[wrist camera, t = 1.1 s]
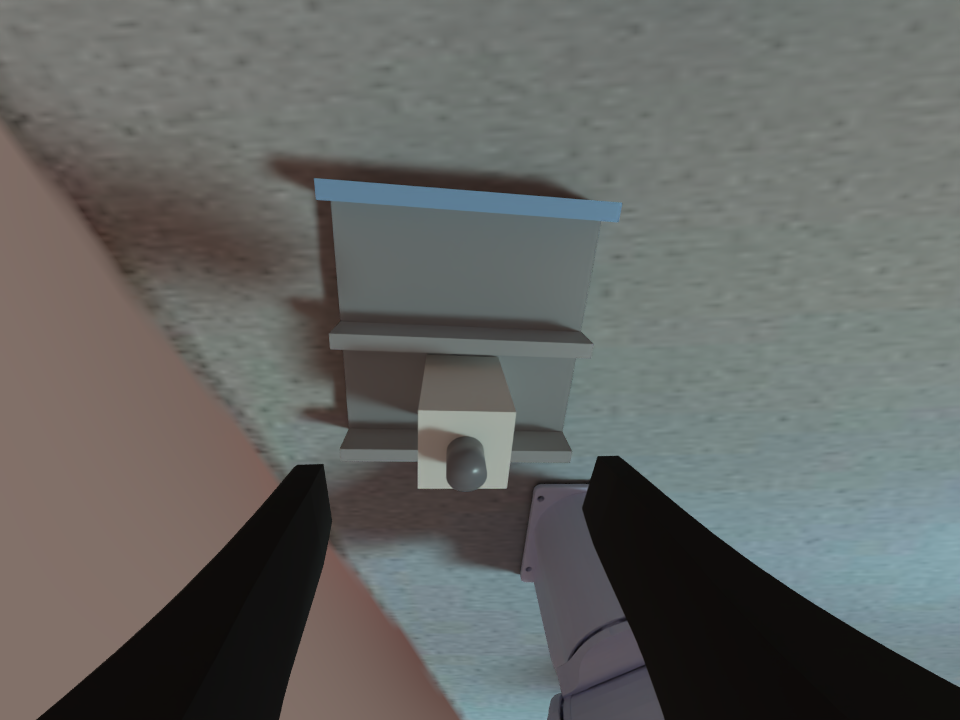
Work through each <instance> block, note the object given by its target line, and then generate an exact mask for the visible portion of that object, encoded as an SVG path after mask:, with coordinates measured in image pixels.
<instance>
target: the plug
mask: <svg viewBox="0 0 960 720" xmlns="http://www.w3.org/2000/svg"><path fill="white" fill-rule="evenodd" d="M515 419H516V410H515V407H514V404H513V401H512V398H511V394H510V391H509V388H508V385H507V382H506V379H505V376H504V373H503V370H502V367H501V364H500V361H499V358H498V357H482V356H454V355H427V356H426V363H425V369H424V376H423V382H422V388H421V395H420V401H419V408H418V489H455V490H458V491H462V492H469V491H474V490H476V489H507V483H508V475H509V467H510V459H511V451H512V443H513V435H514V427H515Z"/></svg>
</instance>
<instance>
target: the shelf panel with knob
mask: <svg viewBox="0 0 960 720" xmlns="http://www.w3.org/2000/svg"><path fill="white" fill-rule="evenodd" d="M314 184H315V194H316V200H326V201H331V211H332V223H333V236H334V248H335V260H336V273H337V285H338V298H339V310H340V322H339V323H338V324H337V325H336V326H335V328H334V329H333V330H332V331H331V332H330V333H329V342H330V349H334V350H343V360H344V372H345V384H346V397H347V409H348V422H349V430H348V432H347V434H346V436H345V439H344V441H343V443H342V445H341V447H340V458H341V461H379V462H418V408H419V401H420V395H421V388H422V382H423V376H424V369H425V363H426V356H427V355H454V356H482V357H498V358H499V361H500V364H501V367H502V370H503V373H504V376H505V379H506V382H507V385H508V388H509V391H510V394H511V398H512V401H513V404H514V407H515V410H516V419H515V427H514V435H513V443H512V451H511V459H510V462H524V463H570V461H571V456H572V450H571V448H570V446H569V444H568V442H567V440H566V438H565V436H564V434H563V432H562V431H563V426H564V421H565V415H566V410H567V404H568V399H569V393H570V388H571V383H572V377H573V372H574V366H575V361H576V358H585V359H591V356H592V351H593V346H594V344H593V343H592V342H591V341H590V340H589V339H588V338H587V337H586V336H585V335H584V334H583V333H582V332H581V328H582V323H583V317H584V312H585V307H586V301H587V296H588V290H589V285H590V279H591V274H592V269H593V263H594V258H595V252H596V247H597V241H598V236H599V231H600V225H601V221H609V222H619V217H620V212H621V207H622V203H619V202H607V201H594V200H582V199H569V198H557V197H544V196H532V195H519V194H507V193H494V192H482V191H469V190H457V189H444V188H432V187H419V186H407V185H394V184H382V183H369V182H357V181H344V180H332V179H319V178H314Z"/></svg>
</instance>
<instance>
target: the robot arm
mask: <svg viewBox="0 0 960 720" xmlns="http://www.w3.org/2000/svg"><path fill="white" fill-rule="evenodd" d="M539 496H542V497H540V498H538V497H539ZM331 524H332V518H331V511H330V504H329V498H328V491H327V484H326V478H325V471H324V464H310V465H297V466H295V467H294V468H293V469H292V470H291V471H290V473H289V474H288V475H287V476H286V477H285V479H284V480H283V481H282V482H281V483H280V485H279V486H278V487H277V488H276V489H275V490H274V492H273V493H272V494H271V495H270V496H269V498H268V499H267V500H266V501H265V502H264V503H263V505H262V506H261V507H260V508H259V509H258V510H257V511H256V513H255V514H254V515H253V516H252V517H251V518H250V519H249V520H248V521H247V522H246V524H245V525H244V526H243V527H242V528H241V529H240V530H239V531H238V532H237V534H236V535H235V536H234V537H233V538H232V539H231V540H230V541H229V542H228V544H227V545H225V547H224V548H223V549H222V550H221V551H220V552H219V553H218V554H217V555H216V556H215V557H214V558H213V559H212V560H211V561H210V562H209V563H208V564H207V565H206V566H205V567H204V568H203V569H202V570H201V571H200V572H199V573H198V574H197V575H196V576H195V577H194V578H193V579H192V580H191V581H190V582H189V583H188V584H187V586H186V587H185V588H184V589H183V590H182V591H180V592H179V593H178V594H177V596H175V597H174V598H173V599H172V600H171V601H170V602H169V603H168V604H167V605H166V606H165V607H164V608H163V609H162V610H161V611H160V612H159V613H158V614H157V615H155V617H153V618H152V619H151V620H150V621H149V622H148V623H147V624H146V625H145V626H144V627H143V628H141V630H139V631H138V632H137V633H136V634H135V635H134V636H133V637H132V638H130V639H129V640H128V641H127V642H126V643H125V644H124V645H123V646H122V647H121V648H119V649H118V650H117V651H116V652H115V653H114V654H113V655H111V656H110V657H109V658H108V659H107V660H106V661H105V662H103V663H102V664H101V665H100V666H99V667H98V668H96V669H95V670H94V671H93V672H92V673H91V674H89V675H88V676H87V677H86V678H85V679H84V680H83V681H82V682H80V683H79V684H78V685H77V686H76V687H74V689H72V690H71V691H70V692H69V693H67V694H66V695H65V696H64V697H63V698H62V699H61V700H59V701H58V702H57V703H56V704H54V705H53V706H52V707H51V708H50V709H48V710H47V711H46V712H45V713H44V714H43V715H41V716H40V717H39V718H38V719H36V720H279V717H280V713H281V708H282V704H283V700H284V696H285V692H286V688H287V685H288V681H289V677H290V674H291V670H292V667H293V664H294V660H295V657H296V654H297V650H298V647H299V644H300V641H301V637H302V634H303V631H304V627H305V624H306V621H307V618H308V615H309V611H310V608H311V605H312V601H313V598H314V595H315V592H316V588H317V585H318V582H319V578H320V575H321V572H322V568H323V565H324V560H325V555H326V550H327V545H328V540H329V535H330V529H331ZM520 577H521V580H522V581H523V582H534V585H535V590H536V594H537V599H538V603H539V608H540V612H541V617H542V621H543V626H544V630H545V635H546V639H547V643H548V648H549V652H550V657H551V660H552V663H553V667H554V669H555V671H556V673H557V675H558V679H559V683H560V687H561V693H559V694H557V695H555V696H554V697H553V698H552V700H551V702H550V706H549V714H548V718H547V720H960V687H958V686H956V685H954V684H952V683H950V682H949V681H947V680H945V679H943V678H941V677H939V676H938V675H936V674H934V673H932V672H930V671H928V670H927V669H925V668H923V667H921V666H919V665H918V664H916V663H914V662H912V661H910V660H908V659H907V658H905V657H903V656H901V655H899V654H898V653H896V652H894V651H892V650H890V649H889V648H887V647H885V646H884V645H882V644H880V643H878V642H877V641H875V640H873V639H871V638H870V637H868V636H866V635H864V634H863V633H861V632H859V631H858V630H856V629H854V628H853V627H851V626H849V625H848V624H846V623H845V622H843V621H841V620H840V619H838V618H836V617H835V616H833V615H831V614H830V613H828V612H827V611H825V610H823V609H822V608H820V607H818V606H817V605H815V604H814V603H812V602H810V601H809V600H807V599H806V598H804V597H803V596H801V595H800V594H798V593H796V592H795V591H793V590H792V589H790V588H789V587H787V586H786V585H784V584H783V583H782V582H780V581H779V580H777V579H776V578H774V577H773V576H771V575H770V574H768V573H767V572H765V571H764V570H762V569H761V568H759V567H758V566H757V565H755V564H754V563H752V562H751V561H750V560H748V559H747V558H745V557H744V556H743V555H741V554H740V553H739V552H737V551H736V550H735V549H733V548H732V547H731V546H729V545H728V544H727V543H725V542H724V541H723V540H721V539H720V538H719V537H717V536H716V535H715V534H713V533H712V532H711V531H709V530H708V529H707V528H706V527H704V526H703V525H702V524H701V523H699V522H698V521H697V520H696V519H694V518H693V517H692V516H691V515H689V514H688V513H687V512H686V511H684V510H683V509H682V508H681V507H680V506H678V505H677V504H676V503H675V502H673V501H672V500H671V499H670V498H669V497H667V496H666V495H665V494H664V493H663V492H661V491H660V490H659V489H658V488H657V487H656V486H654V485H653V484H652V483H651V482H650V481H648V480H647V479H646V478H645V477H644V476H642V475H641V474H640V473H639V472H638V471H637V470H635V469H634V468H633V467H632V466H630V465H629V464H628V463H627V462H626V461H624V460H623V459H622V458H620V457H619V456H598V457H597V460H596V463H595V467H594V470H593V473H592V476H591V480H590V483H589V484H539V485H537V486H535V488H534V491H533V497H532V503H531V509H530V516H529V522H528V528H527V534H526V541H525V547H524V553H523V559H522V566H521V572H520Z"/></svg>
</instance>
